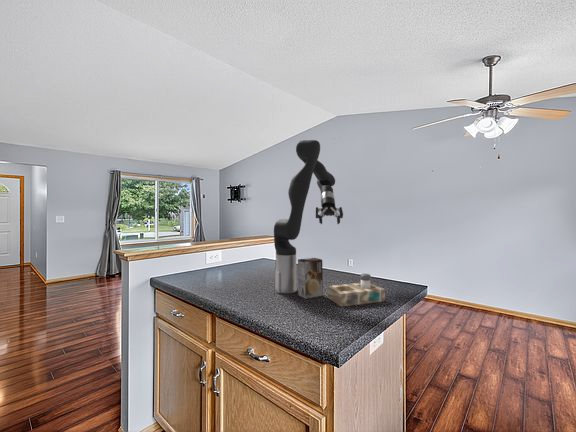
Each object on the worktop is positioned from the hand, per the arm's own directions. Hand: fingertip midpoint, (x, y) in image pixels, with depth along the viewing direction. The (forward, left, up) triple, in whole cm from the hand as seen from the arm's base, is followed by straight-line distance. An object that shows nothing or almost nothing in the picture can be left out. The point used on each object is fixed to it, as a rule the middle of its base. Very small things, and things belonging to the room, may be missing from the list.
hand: (329, 223), depth 147 cm
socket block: (-2, -28, -31) cm, 41 cm away
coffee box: (-18, -17, -31) cm, 39 cm away
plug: (+3, -28, -31) cm, 41 cm away
